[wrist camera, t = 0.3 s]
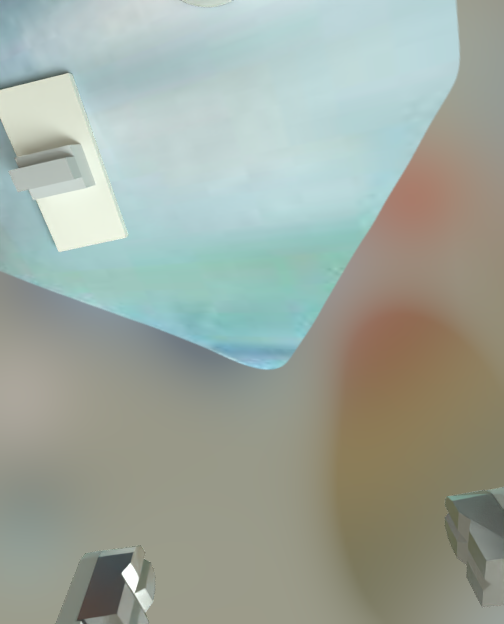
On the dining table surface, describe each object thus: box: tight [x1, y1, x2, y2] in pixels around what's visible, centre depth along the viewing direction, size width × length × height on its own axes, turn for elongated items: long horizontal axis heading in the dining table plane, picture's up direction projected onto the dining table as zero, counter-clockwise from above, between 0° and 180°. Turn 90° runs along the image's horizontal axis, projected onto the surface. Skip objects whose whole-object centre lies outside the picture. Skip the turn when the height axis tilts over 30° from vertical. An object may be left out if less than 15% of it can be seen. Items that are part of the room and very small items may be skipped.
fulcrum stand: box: [0, 73, 129, 252], centre depth 47 cm, size 20×10×7 cm, turn 12°
